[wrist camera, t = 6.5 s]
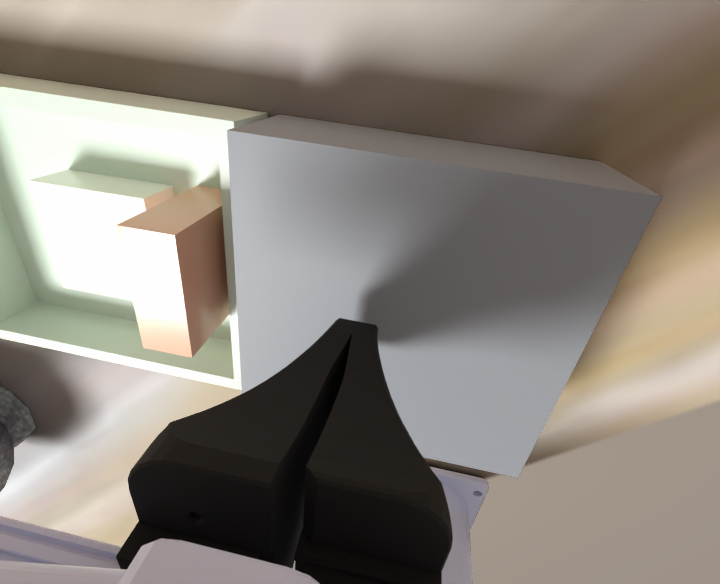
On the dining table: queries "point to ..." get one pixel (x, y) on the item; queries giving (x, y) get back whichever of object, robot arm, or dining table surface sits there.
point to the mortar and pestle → (12, 430)
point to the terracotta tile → (177, 270)
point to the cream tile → (92, 225)
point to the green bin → (113, 158)
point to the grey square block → (430, 269)
